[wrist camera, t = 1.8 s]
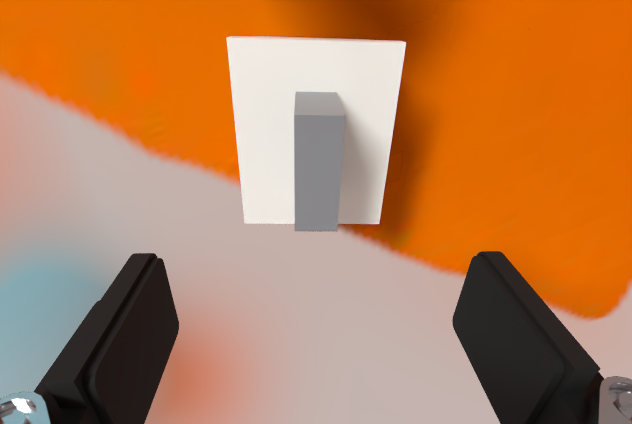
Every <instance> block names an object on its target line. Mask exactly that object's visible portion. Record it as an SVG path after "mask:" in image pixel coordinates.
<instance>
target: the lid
mask: <svg viewBox="0 0 632 424" xmlns="http://www.w3.org/2000/svg"><path fill="white" fill-rule="evenodd" d="M227 47H228V57H229V67H230V78H231V88H232V98H233V109H234V119H235V129H236V140H237V150H238V160H239V171H240V181H241V191H242V201H243V212H244V221H245V224H295V231H337V227H338V224H379V222H380V216H381V209H382V202H383V195H384V189H385V182H386V175H387V169H388V162H389V155H390V148H391V142H392V135H393V128H394V121H395V115H396V108H397V101H398V95H399V88H400V81H401V74H402V68H403V61H404V54H405V47H406V42H403V41H390V40H355V39H319V38H283V37H247V36H229V37H227Z"/></svg>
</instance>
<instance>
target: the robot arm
mask: <svg viewBox="0 0 632 424" xmlns="http://www.w3.org/2000/svg"><path fill="white" fill-rule="evenodd" d="M453 327H454V330H455V332H456V334H457V336H458V338H459V340H460V342H461V344H462V346H463V348H464V350H465V352H466V354H467V356H468V358H469V360H470V362H471V364H472V367H473V368H474V371H475V372H476V375H477V377H478V379H479V381H480V383H481V385H482V387H483V389H484V391H485V393H486V395H487V397H488V399H489V401H490V403H491V405H492V407H493V409H494V411H495V413H496V415H497V417H498V419H499V421H500V423H501V424H632V380H631V379H628V378H624V377H618V376H613V377H607V378H606V379H604V378H603V377H602V376H601V374H600V373H599V372H598V371H599V370H600V368H599V367H598V365H597V364H596V363H595V362H594V360H593V359H592V358H591V357H590V356H589V355H588V354H587V352H586V351H585V350H584V349H583V348H582V346H581V345H580V344H579V343H578V342H577V340H576V339H575V338H574V337H573V336H572V334H571V333H570V332H569V331H568V330H567V329H566V327H565V326H564V325H563V324H562V323H561V321H560V320H558V318H557V317H556V316H555V314H554V313H553V312H552V311H551V310H550V309H549V307H548V306H547V305H546V304H545V303H544V301H543V300H542V299H541V298H540V297H539V296H538V294H537V293H536V292H535V291H534V290H533V288H532V287H531V286H530V285H529V284H528V283H527V281H526V280H525V279H524V278H523V277H522V275H521V274H520V273H519V272H518V271H517V270H516V268H515V267H514V266H513V265H512V264H511V263H510V261H509V260H508V259H507V258H506V257H505V255H504V254H503V253H501V252H499V251H485V252H479V253H478V254H477V256H474V257H473V258H472V260H471V263H470V266H469V269H468V272H467V275H466V278H465V281H464V285H463V288H462V291H461V294H460V297H459V300H458V303H457V306H456V309H455V312H454V315H453ZM178 330H179V321H178V318H177V313H176V309H175V306H174V301H173V298H172V294H171V290H170V285H169V282H168V277H167V273H166V269H165V266H164V262H163V260H162V259H161V258H157V256H156V254H154V253H145V254H144V253H143V254H141V253H140V254H133V255H131V257H130V258H129V259H128V261H127V262H126V264H125V265H124V267H123V268H122V270H121V271H120V273H119V274H118V275H117V277H116V278H115V280H114V281H113V283H112V284H111V286H110V287H109V289H108V290H107V291H106V293H105V294H104V296H103V297H102V299H101V300H100V301H98V302H97V303H96V304H95V305H94V306H93V307H92V309H91V310H90V311H89V313H88V314H87V316H86V317H85V319H84V320H83V322H82V323H81V325H80V326H79V327H78V329H77V330H76V332H75V333H74V334H73V336H72V337H71V339H70V340H69V342H68V343H67V345H66V346H65V347H64V349H63V350H62V352H61V353H60V355H59V356H58V358H57V359H56V361H55V362H54V363H53V365H52V366H51V367H50V369H49V370H48V372H47V373H46V375H45V376H44V378H43V379H42V380H41V382H40V383H39V385H38V386H37V388H36V389H35V391H34V392H19V393H14V394H10V395H8V396H6V397H3V398H1V399H0V424H144V423H145V420H146V417H147V415H148V412H149V409H150V407H151V404H152V401H153V399H154V396H155V393H156V391H157V388H158V385H159V382H160V380H161V377H162V374H163V372H164V369H165V366H166V364H167V361H168V359H169V356H170V353H171V350H172V348H173V345H174V343H175V340H176V337H177V334H178Z"/></svg>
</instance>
